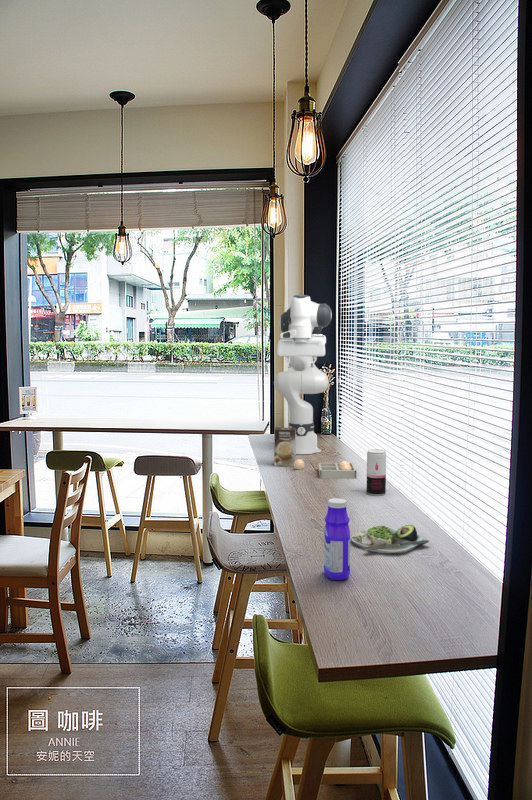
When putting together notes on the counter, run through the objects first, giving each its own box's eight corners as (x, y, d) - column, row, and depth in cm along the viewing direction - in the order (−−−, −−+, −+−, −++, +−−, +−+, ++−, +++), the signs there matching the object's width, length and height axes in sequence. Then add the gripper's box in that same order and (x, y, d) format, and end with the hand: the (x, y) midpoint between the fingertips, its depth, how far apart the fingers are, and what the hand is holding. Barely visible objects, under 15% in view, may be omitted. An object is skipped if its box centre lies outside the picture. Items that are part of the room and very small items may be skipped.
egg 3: (339, 474, 224) (339, 463, 224) (351, 474, 224) (351, 463, 223) (340, 477, 219) (340, 465, 219) (352, 477, 219) (352, 465, 219)
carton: (318, 471, 232) (318, 462, 232) (353, 471, 232) (353, 463, 231) (319, 479, 219) (319, 470, 218) (356, 480, 218) (356, 470, 217)
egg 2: (338, 470, 231) (338, 459, 230) (349, 471, 230) (350, 459, 230) (339, 473, 226) (339, 462, 225) (350, 473, 226) (351, 462, 225)
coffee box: (273, 466, 242) (273, 429, 240) (274, 463, 248) (274, 427, 246) (295, 467, 241) (295, 429, 239) (296, 464, 247) (296, 427, 245)
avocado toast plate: (392, 565, 136) (393, 546, 135) (334, 546, 149) (335, 529, 148) (435, 545, 149) (436, 528, 148) (378, 529, 162) (379, 513, 161)
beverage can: (387, 492, 200) (388, 450, 199) (383, 496, 194) (383, 453, 193) (369, 490, 203) (369, 448, 201) (364, 494, 197) (364, 451, 195)
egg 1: (293, 468, 237) (293, 458, 237) (304, 469, 237) (304, 458, 237) (293, 471, 233) (293, 460, 232) (304, 471, 233) (304, 460, 232)
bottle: (321, 569, 133) (321, 496, 131) (345, 568, 133) (346, 495, 131) (327, 582, 125) (327, 505, 124) (352, 581, 126) (353, 504, 124)
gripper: (325, 334, 238) (325, 367, 240) (277, 334, 240) (277, 367, 241) (326, 333, 232) (326, 367, 233) (276, 334, 233) (276, 367, 235)
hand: (301, 367), depth 237 cm, fingers open, 8 cm apart
